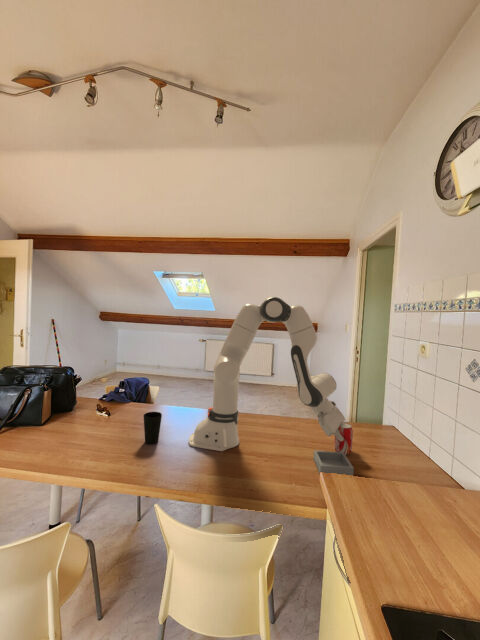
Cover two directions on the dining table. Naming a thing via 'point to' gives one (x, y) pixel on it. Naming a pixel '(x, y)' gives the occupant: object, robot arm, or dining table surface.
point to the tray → (333, 462)
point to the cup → (152, 427)
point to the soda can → (347, 442)
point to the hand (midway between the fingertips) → (345, 437)
